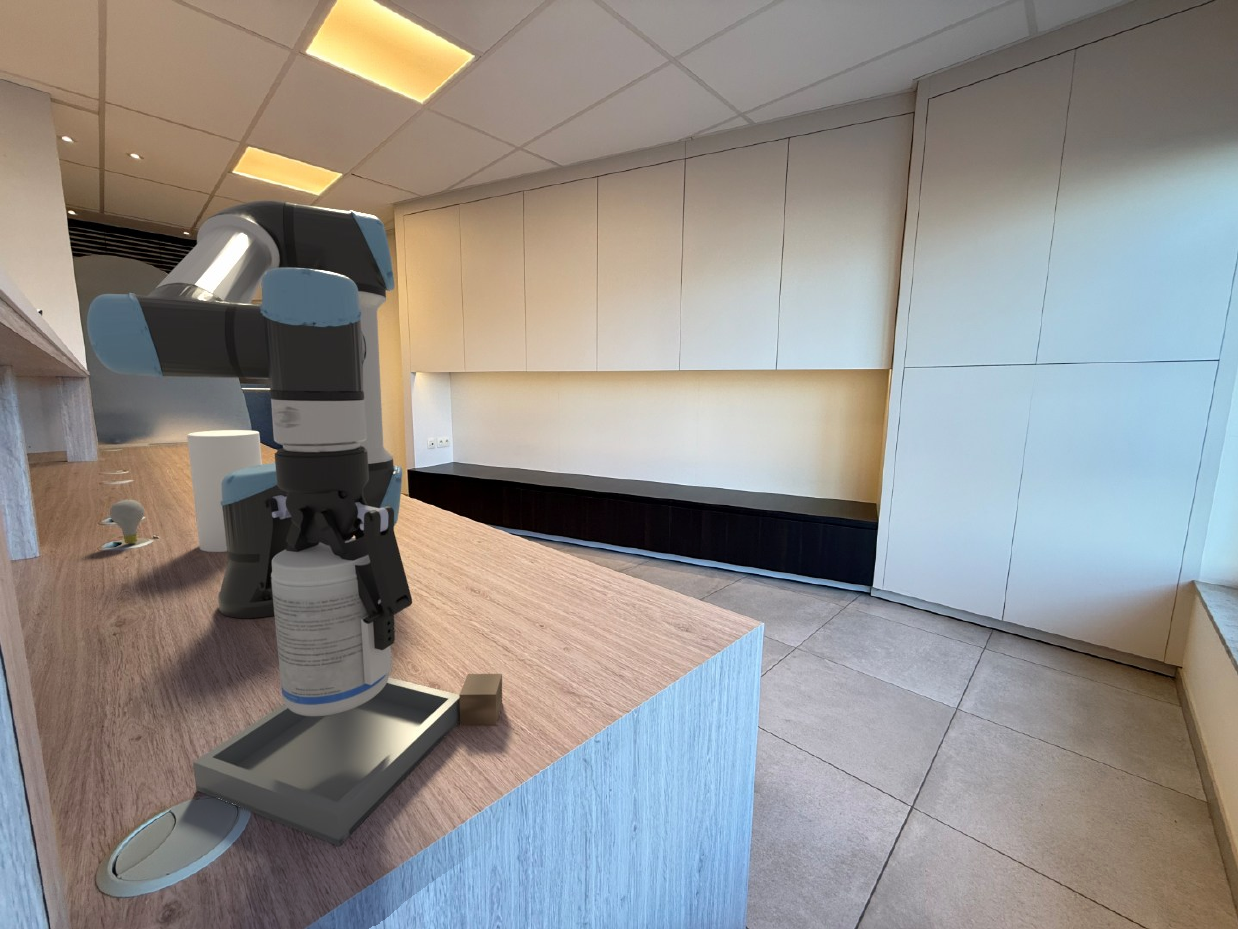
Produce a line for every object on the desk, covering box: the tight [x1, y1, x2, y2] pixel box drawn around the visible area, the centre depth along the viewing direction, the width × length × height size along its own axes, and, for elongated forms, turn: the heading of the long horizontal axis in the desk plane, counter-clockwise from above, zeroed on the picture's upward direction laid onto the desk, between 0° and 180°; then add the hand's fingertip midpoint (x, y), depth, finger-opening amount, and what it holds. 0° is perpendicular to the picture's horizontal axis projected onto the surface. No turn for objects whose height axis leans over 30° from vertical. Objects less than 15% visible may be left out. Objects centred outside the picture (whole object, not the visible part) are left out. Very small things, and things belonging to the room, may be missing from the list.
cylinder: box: [186, 429, 263, 553], centre depth 113 cm, size 12×12×25 cm
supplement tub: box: [271, 537, 390, 716], centre depth 50 cm, size 10×10×15 cm
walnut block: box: [458, 673, 503, 727], centre depth 59 cm, size 4×4×4 cm
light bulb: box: [109, 499, 145, 545], centre depth 111 cm, size 6×6×10 cm
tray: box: [192, 676, 460, 847], centre depth 52 cm, size 17×17×3 cm
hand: (337, 666), depth 51 cm, fingers closed on supplement tub, 10 cm apart
